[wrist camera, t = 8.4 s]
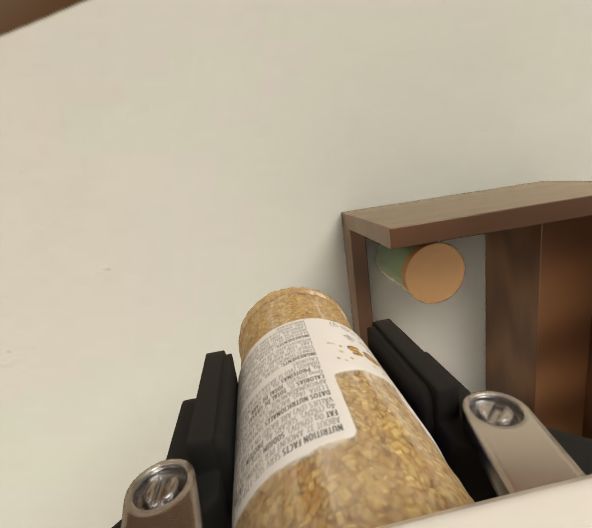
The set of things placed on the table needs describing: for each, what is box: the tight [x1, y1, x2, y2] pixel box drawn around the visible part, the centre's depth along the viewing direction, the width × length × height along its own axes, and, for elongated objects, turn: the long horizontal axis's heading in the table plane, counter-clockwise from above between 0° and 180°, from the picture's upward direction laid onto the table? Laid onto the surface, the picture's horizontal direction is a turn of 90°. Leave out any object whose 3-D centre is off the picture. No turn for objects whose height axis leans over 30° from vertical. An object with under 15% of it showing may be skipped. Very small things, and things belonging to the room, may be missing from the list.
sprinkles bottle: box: [232, 287, 475, 528], centre depth 8 cm, size 5×5×13 cm
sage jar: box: [376, 241, 465, 304], centre depth 27 cm, size 4×4×6 cm
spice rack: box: [341, 181, 592, 439], centre depth 27 cm, size 23×18×12 cm
